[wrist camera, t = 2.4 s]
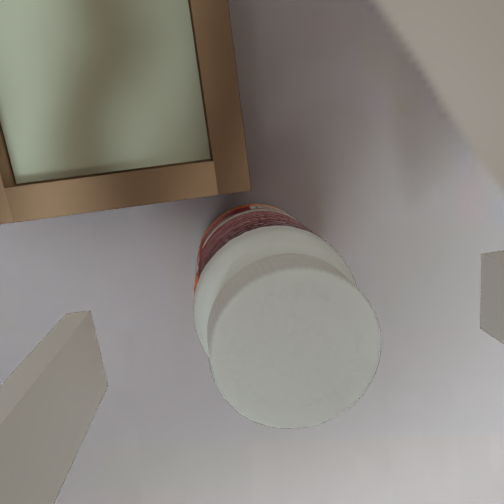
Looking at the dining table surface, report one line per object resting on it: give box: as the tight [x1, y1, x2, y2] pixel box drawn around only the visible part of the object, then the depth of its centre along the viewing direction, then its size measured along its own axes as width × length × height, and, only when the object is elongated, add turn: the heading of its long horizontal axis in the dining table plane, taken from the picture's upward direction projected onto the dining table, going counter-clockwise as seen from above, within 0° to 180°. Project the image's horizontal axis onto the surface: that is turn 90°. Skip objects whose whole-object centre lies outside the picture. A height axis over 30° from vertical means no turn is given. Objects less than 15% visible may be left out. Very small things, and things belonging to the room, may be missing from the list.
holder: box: [0, 0, 251, 224], centre depth 19 cm, size 12×12×3 cm
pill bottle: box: [193, 204, 381, 429], centre depth 17 cm, size 6×6×11 cm
